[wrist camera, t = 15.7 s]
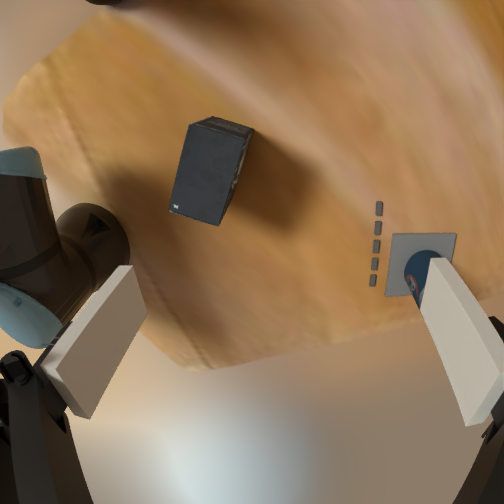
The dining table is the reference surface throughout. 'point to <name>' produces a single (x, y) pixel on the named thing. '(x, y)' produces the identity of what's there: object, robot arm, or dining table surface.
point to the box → (209, 169)
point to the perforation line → (376, 242)
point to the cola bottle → (103, 2)
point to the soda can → (418, 273)
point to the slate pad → (406, 247)
